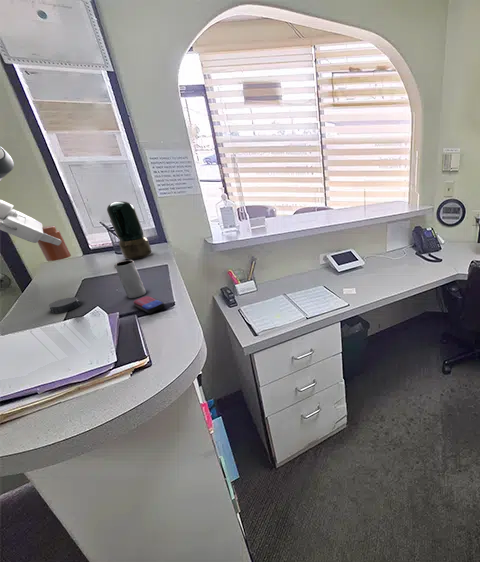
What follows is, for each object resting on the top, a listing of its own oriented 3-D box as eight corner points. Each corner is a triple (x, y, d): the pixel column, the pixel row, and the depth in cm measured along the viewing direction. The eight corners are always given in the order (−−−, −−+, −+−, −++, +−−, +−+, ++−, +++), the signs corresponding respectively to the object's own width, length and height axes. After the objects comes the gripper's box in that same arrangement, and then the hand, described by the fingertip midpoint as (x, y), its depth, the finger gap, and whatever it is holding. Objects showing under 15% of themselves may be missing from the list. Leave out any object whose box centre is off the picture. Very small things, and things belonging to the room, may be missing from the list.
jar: (45, 262, 92) (29, 231, 88) (47, 258, 96) (32, 227, 92) (70, 257, 95) (55, 227, 91) (71, 253, 99) (57, 224, 95)
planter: (148, 294, 93) (135, 262, 88) (130, 299, 89) (116, 267, 85) (143, 290, 95) (131, 258, 91) (126, 295, 92) (112, 263, 88)
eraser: (132, 305, 86) (129, 300, 85) (148, 299, 89) (146, 294, 88) (150, 315, 80) (148, 309, 79) (167, 308, 83) (164, 302, 82)
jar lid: (57, 305, 88) (54, 300, 87) (83, 300, 90) (80, 295, 89) (47, 315, 83) (44, 309, 82) (76, 309, 85) (72, 303, 84)
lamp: (155, 251, 131) (136, 198, 122) (149, 258, 123) (128, 202, 114) (129, 254, 128) (108, 201, 119) (121, 262, 120) (97, 205, 111)
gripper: (0, 209, 78) (68, 238, 89) (5, 202, 92) (64, 227, 102) (-17, 230, 77) (54, 256, 88) (-9, 220, 91) (52, 244, 101)
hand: (59, 241), depth 95 cm, fingers closed on jar, 5 cm apart
